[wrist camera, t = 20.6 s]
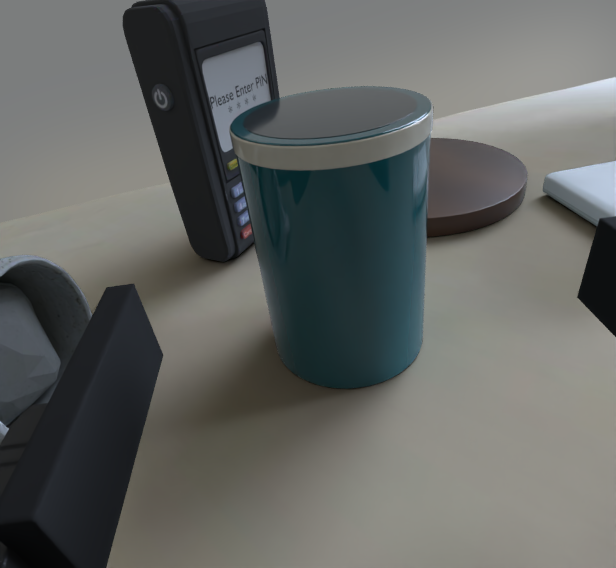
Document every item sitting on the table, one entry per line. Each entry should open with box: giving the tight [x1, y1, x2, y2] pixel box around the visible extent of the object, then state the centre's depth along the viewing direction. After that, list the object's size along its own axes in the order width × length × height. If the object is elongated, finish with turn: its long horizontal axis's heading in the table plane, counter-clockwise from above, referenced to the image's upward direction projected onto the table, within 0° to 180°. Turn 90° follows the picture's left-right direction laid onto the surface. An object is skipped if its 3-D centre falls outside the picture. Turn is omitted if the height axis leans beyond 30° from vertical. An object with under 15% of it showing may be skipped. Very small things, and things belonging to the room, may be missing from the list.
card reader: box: [123, 0, 279, 261], centre depth 29 cm, size 9×4×15 cm, turn 152°
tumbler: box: [229, 86, 433, 389], centre depth 20 cm, size 8×8×11 cm
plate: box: [427, 138, 528, 237], centre depth 36 cm, size 16×16×1 cm
